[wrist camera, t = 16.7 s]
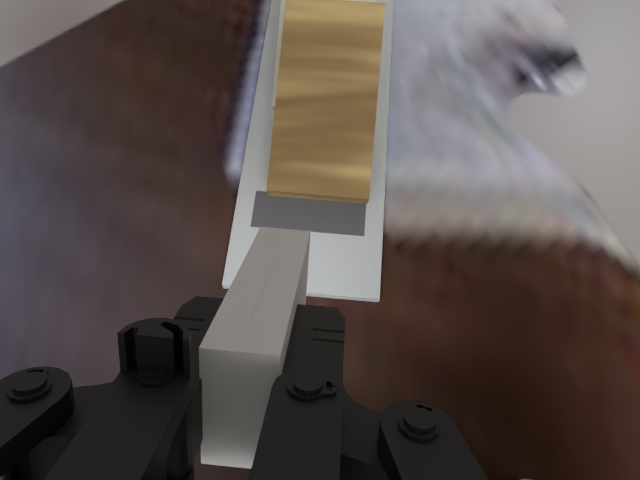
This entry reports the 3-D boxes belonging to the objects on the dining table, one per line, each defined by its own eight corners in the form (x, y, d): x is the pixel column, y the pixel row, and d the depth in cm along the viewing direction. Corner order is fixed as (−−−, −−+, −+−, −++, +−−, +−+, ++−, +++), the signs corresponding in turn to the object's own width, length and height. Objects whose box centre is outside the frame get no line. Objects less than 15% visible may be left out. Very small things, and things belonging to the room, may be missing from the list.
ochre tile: (369, 199, 30) (385, 3, 31) (266, 190, 30) (286, -5, 32) (367, 203, 32) (382, 17, 33) (269, 195, 32) (288, 10, 33)
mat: (378, 302, 30) (379, 298, 29) (223, 288, 30) (221, 284, 30) (393, -12, 40) (394, -20, 39) (276, -20, 40) (276, -28, 40)
